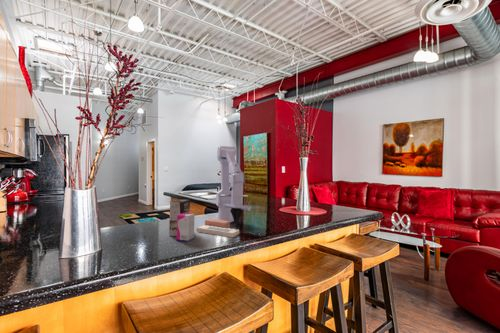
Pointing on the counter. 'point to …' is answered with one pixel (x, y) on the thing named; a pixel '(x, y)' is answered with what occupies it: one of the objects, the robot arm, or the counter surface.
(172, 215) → the coffee box
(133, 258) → the counter surface
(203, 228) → the ticket board
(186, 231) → the supplement box
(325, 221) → the counter surface
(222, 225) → the stub tab
